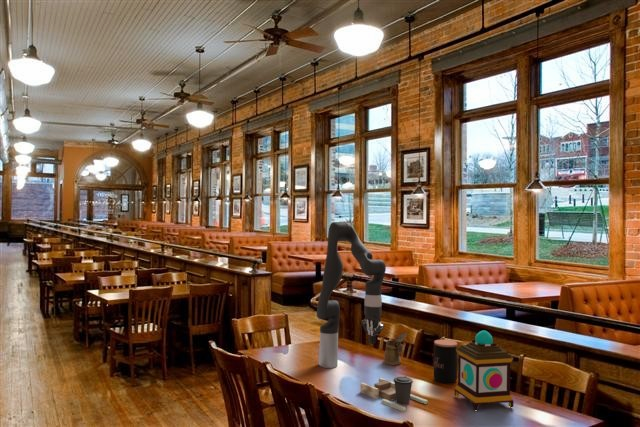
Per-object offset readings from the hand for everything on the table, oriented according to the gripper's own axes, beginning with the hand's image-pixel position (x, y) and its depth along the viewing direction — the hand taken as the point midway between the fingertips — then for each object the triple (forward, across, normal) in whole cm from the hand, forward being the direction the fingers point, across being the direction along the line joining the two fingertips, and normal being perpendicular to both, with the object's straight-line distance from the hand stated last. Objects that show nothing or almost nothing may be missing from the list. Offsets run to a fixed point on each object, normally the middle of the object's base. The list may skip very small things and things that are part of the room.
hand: (372, 343), depth 223 cm
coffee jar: (+21, +12, +37) cm, 44 cm away
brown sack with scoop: (+21, -20, +37) cm, 47 cm away
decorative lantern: (+20, +39, +27) cm, 51 cm away
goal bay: (+20, +20, 0) cm, 28 cm away
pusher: (+20, +10, 0) cm, 22 cm away
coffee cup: (+20, +19, 0) cm, 28 cm away
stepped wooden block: (+20, +5, 0) cm, 21 cm away
